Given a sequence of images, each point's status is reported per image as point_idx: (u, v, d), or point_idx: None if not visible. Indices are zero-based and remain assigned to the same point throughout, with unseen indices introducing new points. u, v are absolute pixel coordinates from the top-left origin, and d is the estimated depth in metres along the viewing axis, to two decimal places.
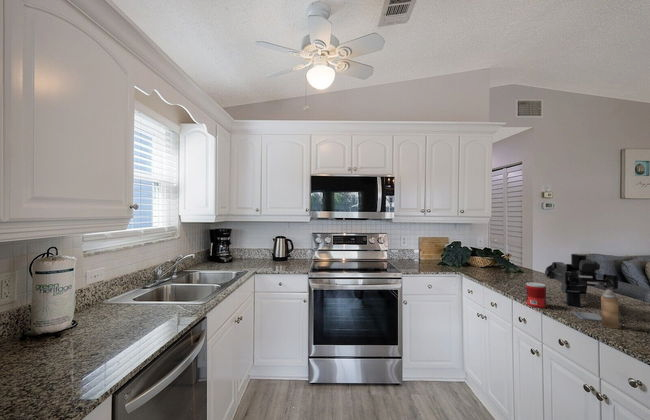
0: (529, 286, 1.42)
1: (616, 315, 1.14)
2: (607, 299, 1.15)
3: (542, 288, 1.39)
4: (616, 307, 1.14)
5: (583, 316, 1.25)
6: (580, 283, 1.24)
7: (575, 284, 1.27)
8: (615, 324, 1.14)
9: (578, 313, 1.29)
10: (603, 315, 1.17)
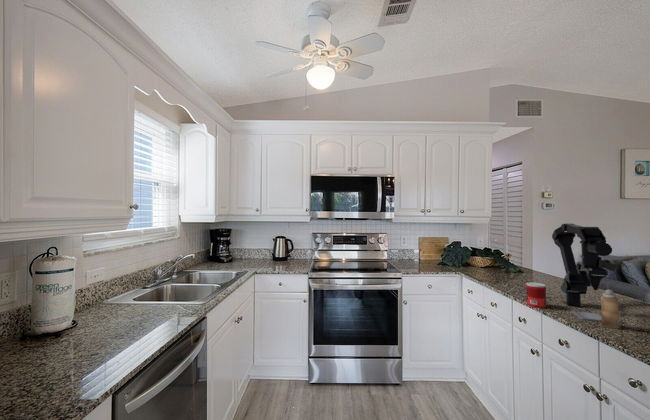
0: (529, 286, 1.42)
1: (616, 315, 1.14)
2: (607, 299, 1.15)
3: (542, 288, 1.39)
4: (616, 307, 1.14)
5: (583, 316, 1.25)
6: (593, 284, 1.24)
7: (590, 278, 1.24)
8: (615, 324, 1.14)
9: (578, 313, 1.29)
10: (603, 315, 1.17)
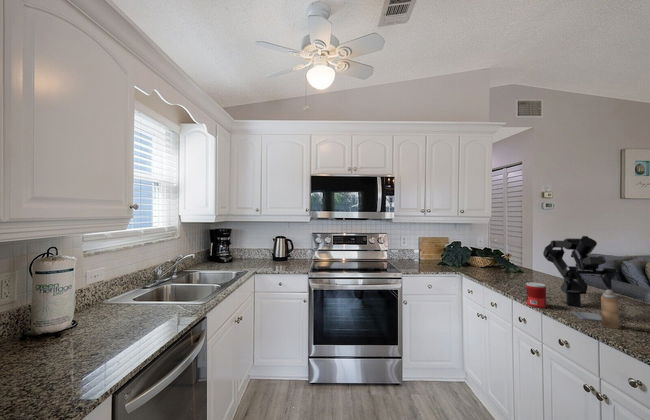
0: (529, 286, 1.42)
1: (616, 315, 1.14)
2: (607, 299, 1.15)
3: (542, 288, 1.39)
4: (616, 307, 1.14)
5: (583, 316, 1.25)
6: (579, 283, 1.28)
7: (573, 280, 1.31)
8: (615, 324, 1.14)
9: (578, 313, 1.29)
10: (603, 315, 1.17)
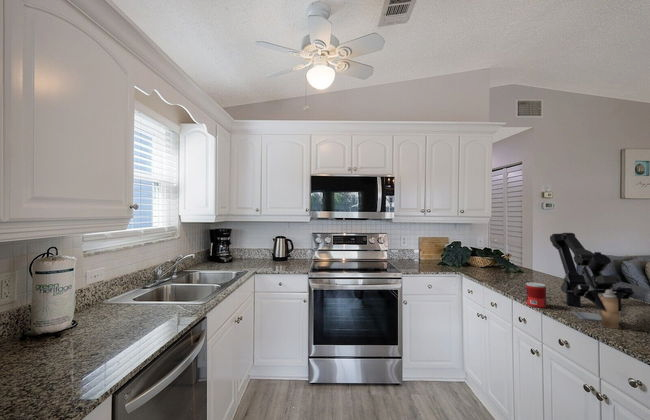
0: (529, 286, 1.42)
1: (616, 315, 1.14)
2: (607, 299, 1.15)
3: (542, 288, 1.39)
4: (616, 307, 1.14)
5: (583, 316, 1.25)
6: (597, 304, 1.19)
7: (591, 300, 1.21)
8: (615, 324, 1.14)
9: (578, 313, 1.29)
10: (603, 315, 1.17)
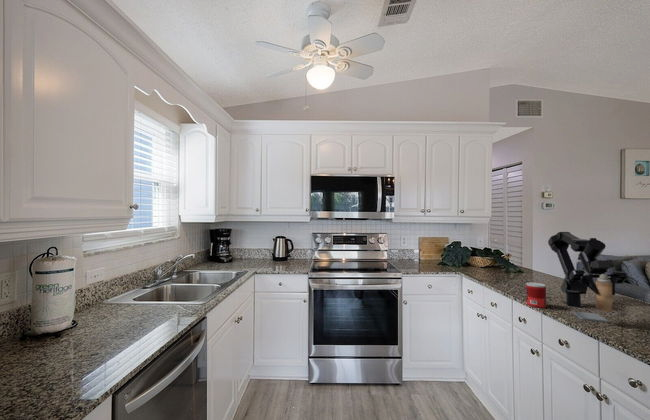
0: (529, 286, 1.42)
1: (610, 299, 1.17)
2: (601, 283, 1.18)
3: (542, 288, 1.39)
4: (610, 291, 1.17)
5: (583, 316, 1.25)
6: (591, 288, 1.21)
7: (586, 284, 1.24)
8: (609, 307, 1.17)
9: (578, 313, 1.29)
10: (597, 299, 1.20)
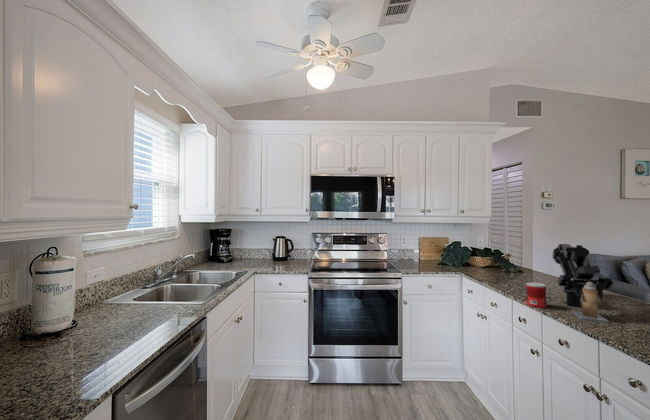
0: (529, 286, 1.42)
1: (595, 305, 1.24)
2: (587, 290, 1.25)
3: (542, 288, 1.39)
4: (595, 298, 1.24)
5: (583, 316, 1.25)
6: (575, 293, 1.29)
7: (570, 289, 1.31)
8: (593, 313, 1.24)
9: (578, 313, 1.29)
10: (583, 305, 1.27)
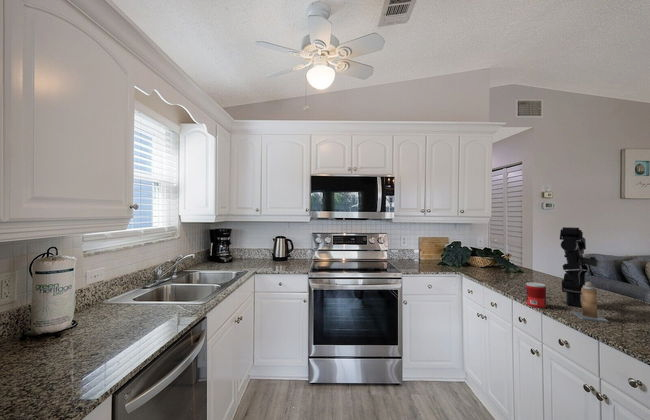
0: (529, 286, 1.42)
1: (594, 305, 1.24)
2: (586, 290, 1.25)
3: (542, 288, 1.39)
4: (594, 298, 1.24)
5: (583, 316, 1.25)
6: (574, 280, 1.31)
7: (569, 274, 1.32)
8: (593, 313, 1.24)
9: (578, 313, 1.29)
10: (583, 305, 1.27)
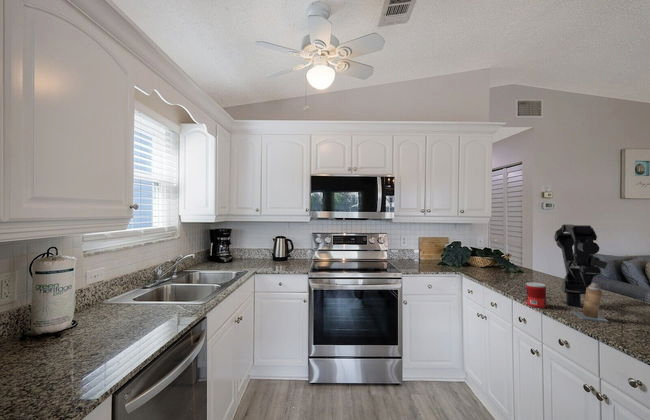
0: (529, 286, 1.42)
1: (597, 306, 1.23)
2: (591, 291, 1.24)
3: (542, 288, 1.39)
4: (598, 299, 1.23)
5: (583, 316, 1.25)
6: (586, 282, 1.27)
7: (584, 276, 1.27)
8: (594, 313, 1.24)
9: (578, 313, 1.29)
10: (585, 304, 1.26)
